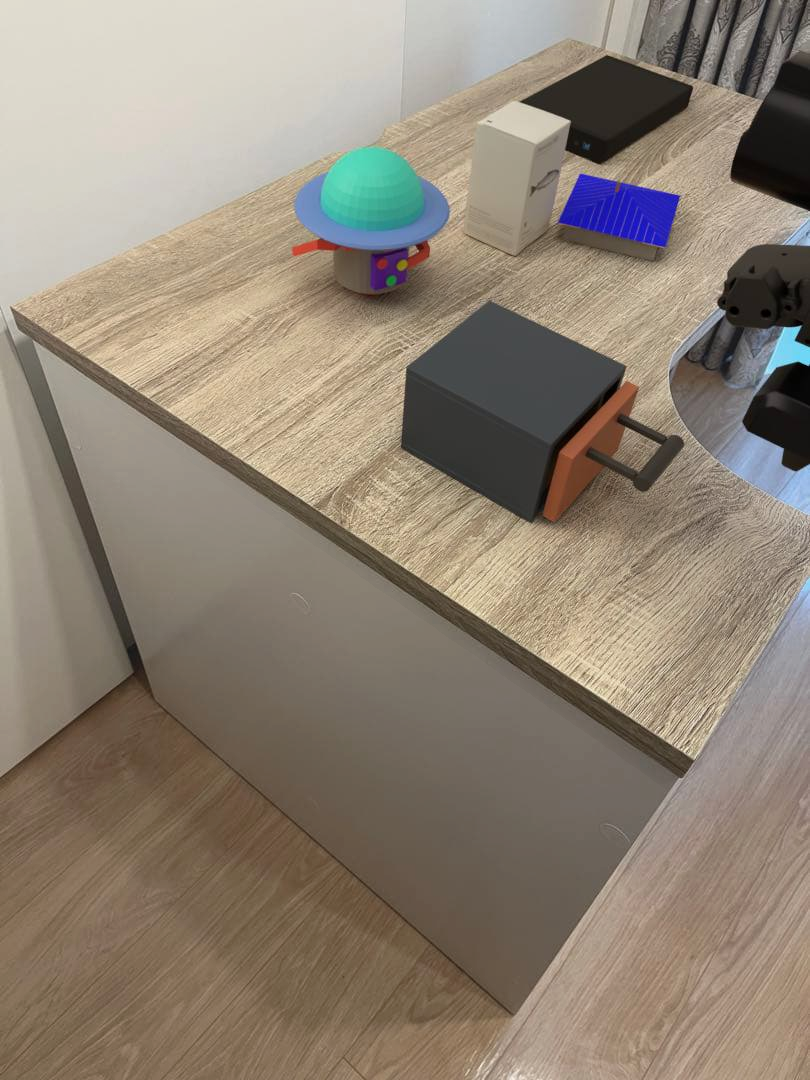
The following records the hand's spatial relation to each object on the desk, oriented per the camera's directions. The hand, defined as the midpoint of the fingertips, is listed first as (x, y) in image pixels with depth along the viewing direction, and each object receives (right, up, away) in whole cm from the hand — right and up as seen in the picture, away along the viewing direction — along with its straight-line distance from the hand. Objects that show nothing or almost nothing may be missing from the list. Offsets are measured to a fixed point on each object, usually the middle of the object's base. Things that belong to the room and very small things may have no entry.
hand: (797, 455), depth 58 cm
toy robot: (-30, +21, +32) cm, 49 cm away
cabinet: (-18, +2, +18) cm, 25 cm away
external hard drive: (+1, +52, +60) cm, 79 cm away
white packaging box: (-15, +29, +40) cm, 52 cm away
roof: (-2, +30, +42) cm, 52 cm away
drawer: (-14, +1, +15) cm, 21 cm away
